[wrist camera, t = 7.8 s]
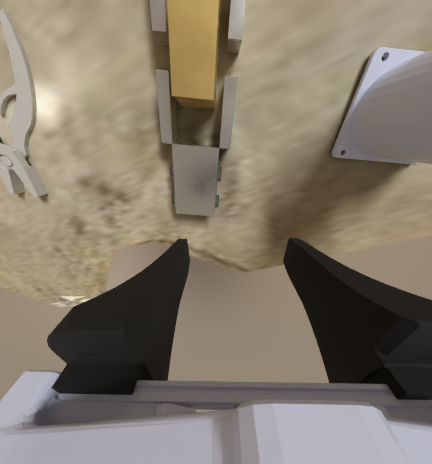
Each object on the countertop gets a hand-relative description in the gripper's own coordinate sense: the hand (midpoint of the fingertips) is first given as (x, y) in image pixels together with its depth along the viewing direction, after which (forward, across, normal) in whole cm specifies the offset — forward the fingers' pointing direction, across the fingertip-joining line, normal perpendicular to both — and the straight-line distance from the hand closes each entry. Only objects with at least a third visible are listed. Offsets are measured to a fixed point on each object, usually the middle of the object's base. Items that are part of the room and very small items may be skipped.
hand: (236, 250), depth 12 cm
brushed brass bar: (+10, +3, -12) cm, 16 cm away
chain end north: (+10, +4, -5) cm, 12 cm away
